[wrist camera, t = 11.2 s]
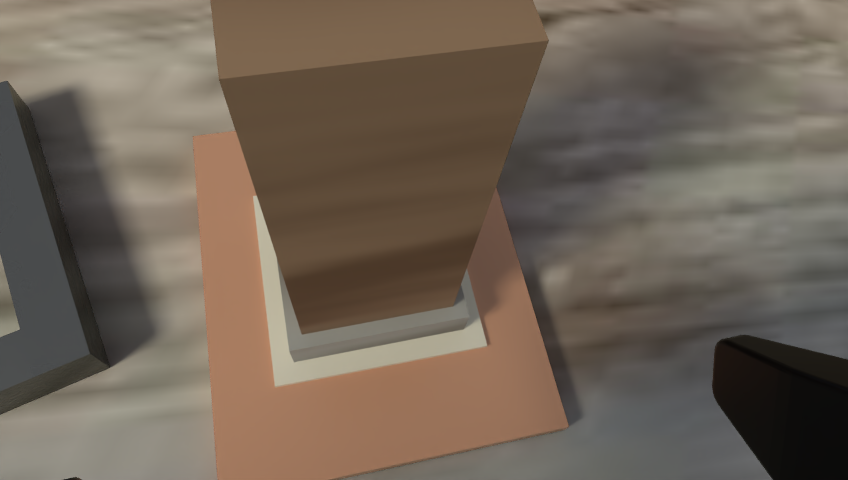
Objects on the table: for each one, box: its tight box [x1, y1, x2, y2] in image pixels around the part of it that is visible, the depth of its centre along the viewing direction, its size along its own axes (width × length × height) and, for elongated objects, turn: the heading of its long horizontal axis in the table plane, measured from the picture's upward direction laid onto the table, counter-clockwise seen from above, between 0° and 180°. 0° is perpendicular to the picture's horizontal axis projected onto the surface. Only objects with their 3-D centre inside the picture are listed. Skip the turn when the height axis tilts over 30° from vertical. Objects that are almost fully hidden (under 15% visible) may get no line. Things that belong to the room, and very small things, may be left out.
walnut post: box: [211, 0, 549, 362], centre depth 14 cm, size 5×5×12 cm
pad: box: [193, 131, 569, 480], centre depth 20 cm, size 12×10×1 cm
